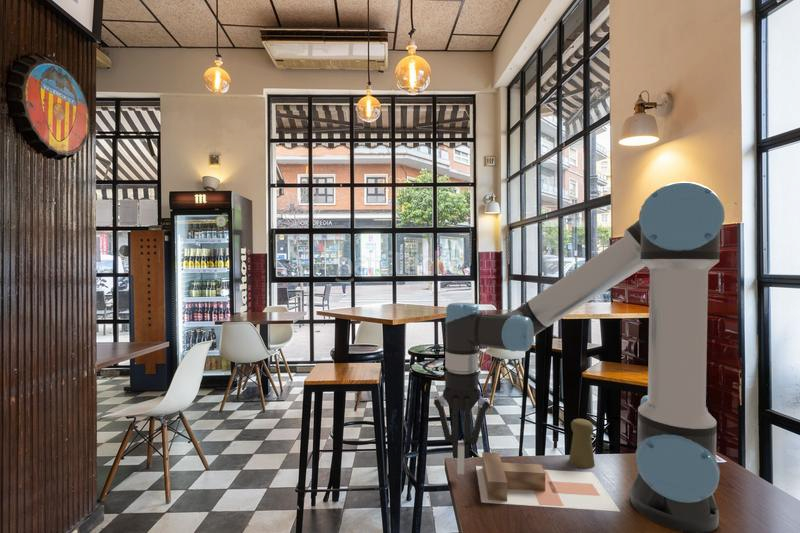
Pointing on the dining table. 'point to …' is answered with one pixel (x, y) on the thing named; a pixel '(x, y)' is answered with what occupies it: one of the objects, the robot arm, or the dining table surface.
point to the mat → (558, 492)
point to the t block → (510, 476)
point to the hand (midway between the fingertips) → (460, 471)
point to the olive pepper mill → (582, 444)
